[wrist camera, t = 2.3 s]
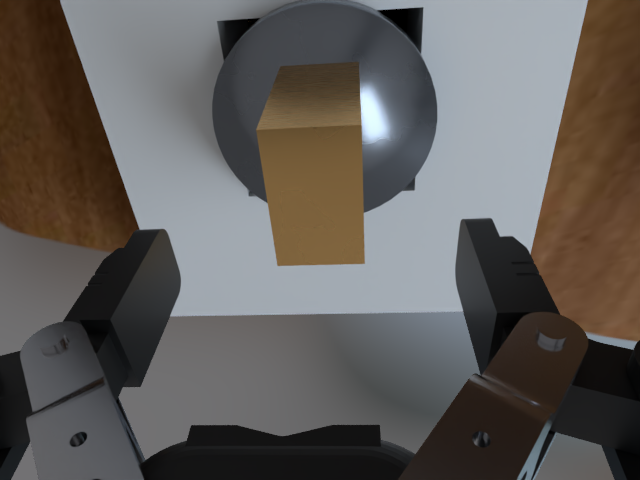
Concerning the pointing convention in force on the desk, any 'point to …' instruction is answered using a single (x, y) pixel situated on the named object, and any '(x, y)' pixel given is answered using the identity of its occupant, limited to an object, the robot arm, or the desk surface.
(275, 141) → the end cap
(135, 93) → the housing
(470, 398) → the robot arm
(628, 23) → the desk surface
